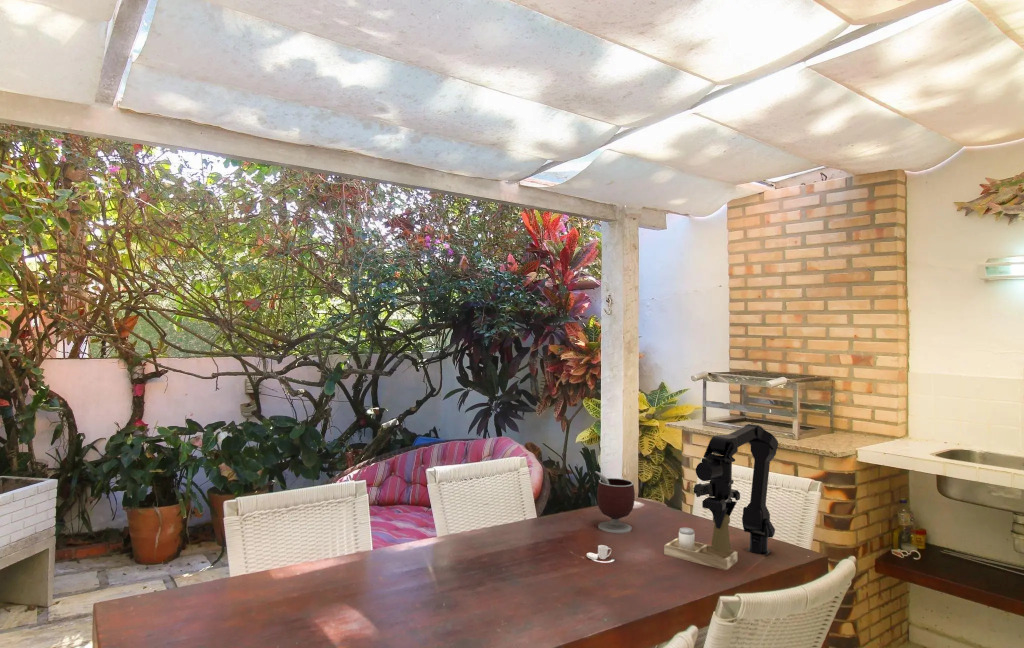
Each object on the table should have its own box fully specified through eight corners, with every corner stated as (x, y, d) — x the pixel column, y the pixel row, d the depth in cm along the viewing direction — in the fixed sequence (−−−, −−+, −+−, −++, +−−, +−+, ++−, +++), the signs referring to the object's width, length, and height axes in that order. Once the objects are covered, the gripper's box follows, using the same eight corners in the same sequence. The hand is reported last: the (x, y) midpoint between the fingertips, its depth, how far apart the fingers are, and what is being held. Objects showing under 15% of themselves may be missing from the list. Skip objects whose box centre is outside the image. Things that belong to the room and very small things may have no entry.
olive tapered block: (732, 552, 198) (733, 517, 198) (712, 551, 199) (712, 515, 199) (729, 546, 204) (729, 511, 204) (709, 544, 205) (710, 510, 205)
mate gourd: (639, 527, 241) (640, 473, 241) (625, 536, 229) (626, 480, 229) (601, 519, 249) (603, 468, 249) (585, 528, 237) (587, 474, 238)
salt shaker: (681, 550, 213) (682, 526, 214) (696, 554, 210) (697, 529, 211) (675, 554, 210) (676, 529, 210) (690, 557, 206) (691, 533, 207)
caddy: (677, 548, 217) (677, 537, 217) (737, 562, 205) (737, 551, 205) (664, 556, 209) (664, 545, 209) (726, 572, 197) (726, 560, 197)
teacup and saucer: (584, 561, 203) (585, 548, 203) (591, 553, 211) (591, 541, 211) (611, 565, 200) (612, 552, 200) (617, 557, 208) (617, 545, 208)
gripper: (707, 468, 214) (706, 514, 214) (686, 478, 199) (685, 528, 199) (740, 473, 208) (740, 521, 208) (722, 483, 193) (721, 535, 193)
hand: (721, 526), depth 202 cm, fingers closed on olive tapered block, 5 cm apart
